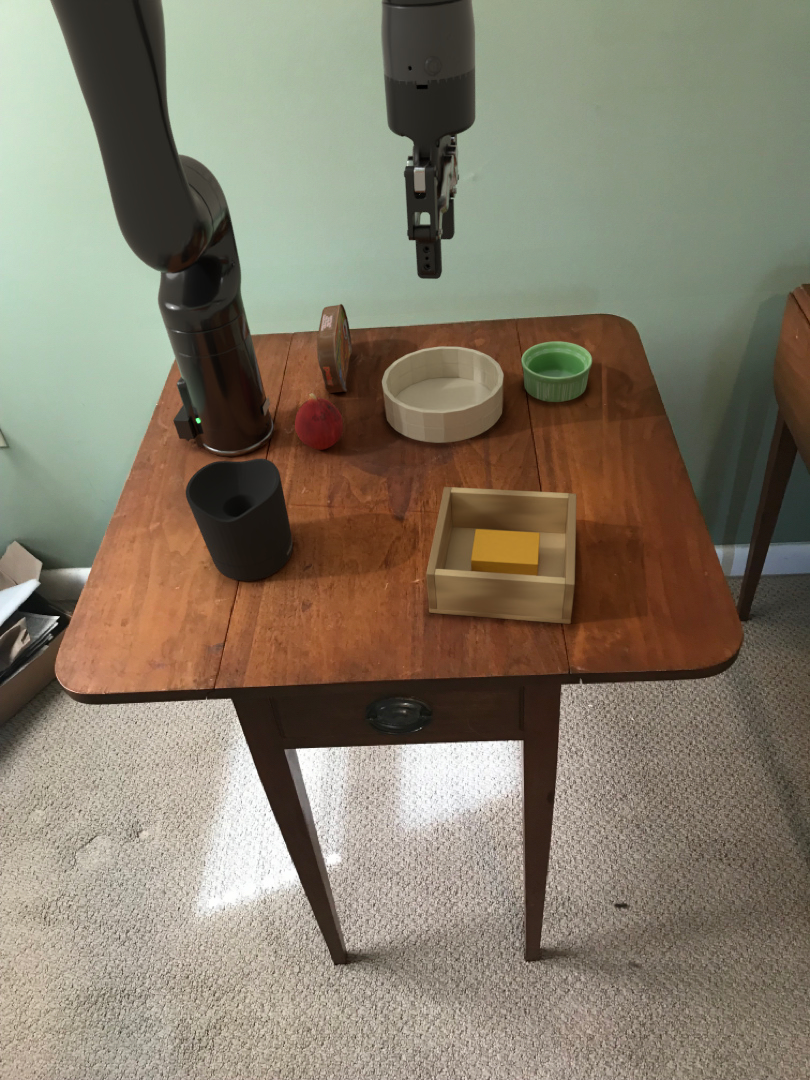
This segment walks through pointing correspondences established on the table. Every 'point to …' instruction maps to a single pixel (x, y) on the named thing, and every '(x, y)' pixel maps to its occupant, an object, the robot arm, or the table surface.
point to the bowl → (443, 394)
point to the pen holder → (242, 517)
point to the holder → (503, 592)
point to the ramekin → (556, 371)
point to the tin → (334, 347)
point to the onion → (318, 423)
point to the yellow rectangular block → (505, 552)
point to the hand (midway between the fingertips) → (436, 256)
